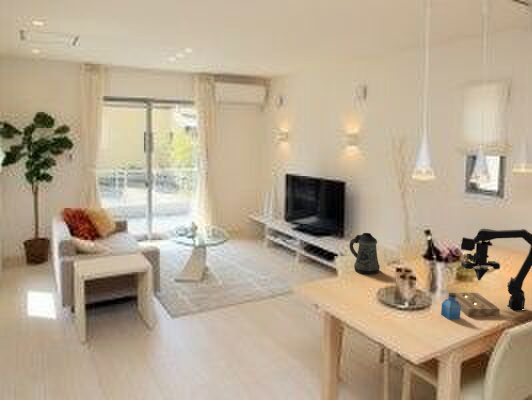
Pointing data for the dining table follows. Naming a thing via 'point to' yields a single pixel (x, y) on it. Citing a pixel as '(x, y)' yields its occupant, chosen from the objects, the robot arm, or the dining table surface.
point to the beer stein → (365, 254)
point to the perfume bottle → (451, 307)
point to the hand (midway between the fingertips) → (478, 280)
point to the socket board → (473, 310)
